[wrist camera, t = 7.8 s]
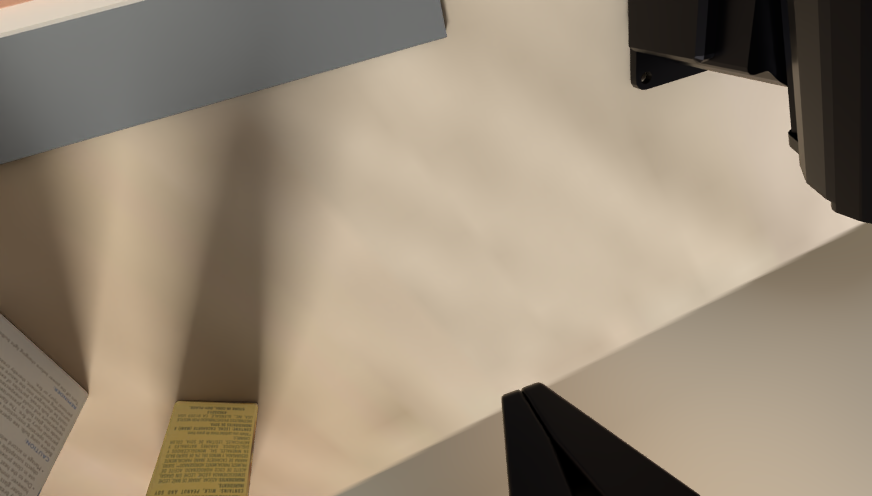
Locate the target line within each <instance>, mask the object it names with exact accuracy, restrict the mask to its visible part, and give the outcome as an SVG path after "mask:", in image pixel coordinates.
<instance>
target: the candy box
mask: <svg viewBox="0 0 872 496" xmlns="http://www.w3.org/2000/svg"><path fill="white" fill-rule="evenodd" d="M257 411H258V405H257V403H223V402H195V401H177V402H176V403H175V405H174V409H173V413H172V416H171V419H170V422H169V425H168V428H167V431H166V434H165V438H164V441H163V444H162V447H161V451H160V454H159V457H158V460H157V463H156V466H155V469H154V472H153V475H152V478H151V481H150V484H149V487H148V491H147V494H146V496H248V495H249V486H250V476H251V466H252V457H253V449H254V438H255V429H256V420H257Z"/></svg>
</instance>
